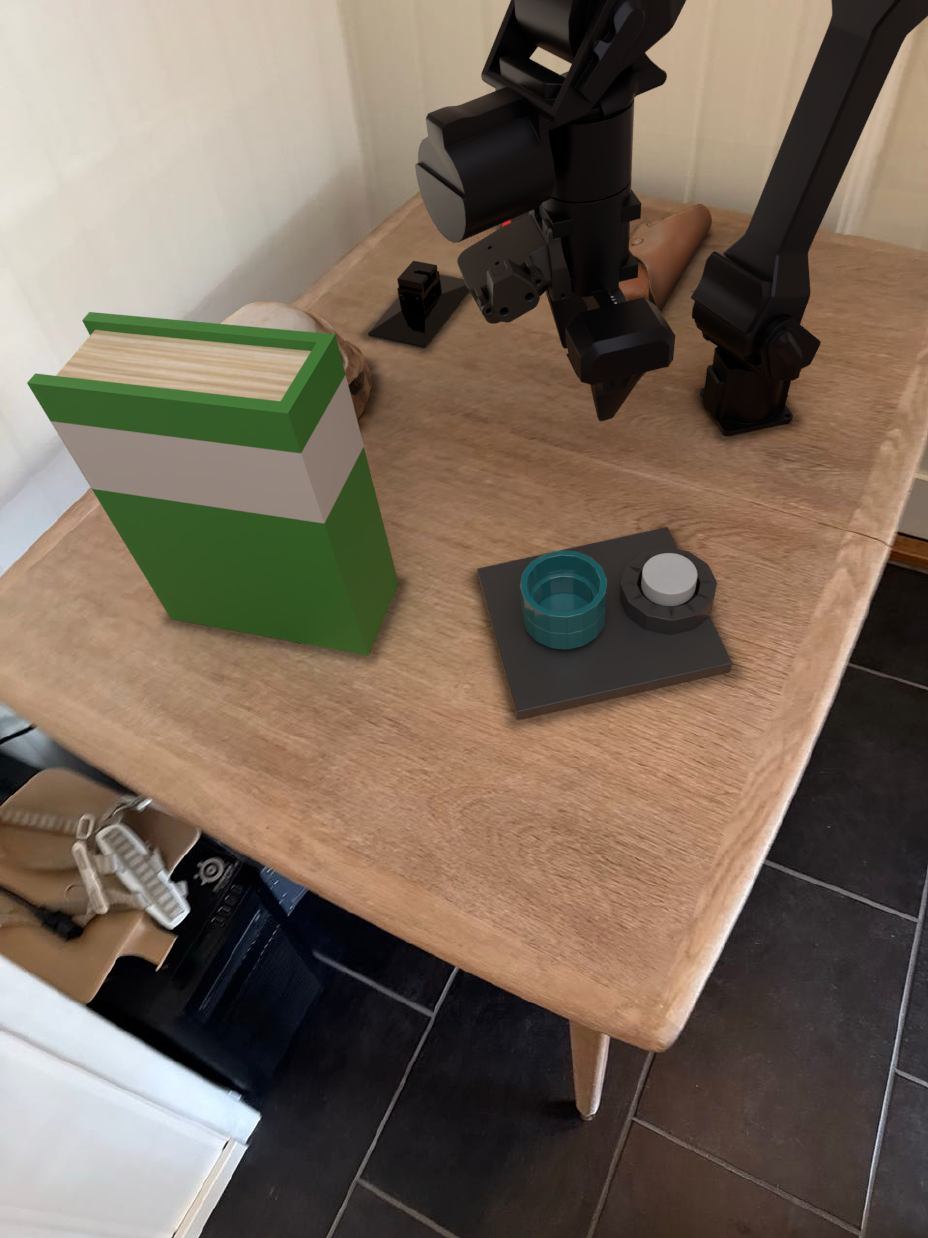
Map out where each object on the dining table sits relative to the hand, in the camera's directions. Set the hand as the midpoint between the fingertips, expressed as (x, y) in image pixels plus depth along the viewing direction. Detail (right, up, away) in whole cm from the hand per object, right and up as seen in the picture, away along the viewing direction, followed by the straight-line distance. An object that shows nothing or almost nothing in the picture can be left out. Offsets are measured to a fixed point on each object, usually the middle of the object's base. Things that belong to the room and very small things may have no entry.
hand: (586, 381), depth 67 cm
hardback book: (-24, -17, +5) cm, 30 cm away
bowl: (-2, -18, 0) cm, 18 cm away
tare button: (+6, -16, -1) cm, 17 cm away
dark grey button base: (+1, -19, +1) cm, 19 cm away
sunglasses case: (+11, +19, +28) cm, 36 cm away
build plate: (-14, +15, +29) cm, 35 cm away
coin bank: (-26, +1, +19) cm, 32 cm away
